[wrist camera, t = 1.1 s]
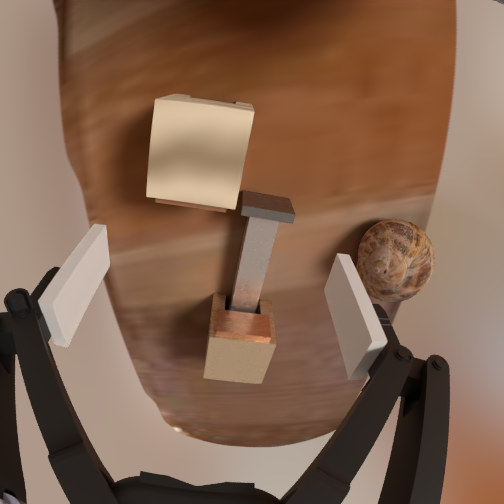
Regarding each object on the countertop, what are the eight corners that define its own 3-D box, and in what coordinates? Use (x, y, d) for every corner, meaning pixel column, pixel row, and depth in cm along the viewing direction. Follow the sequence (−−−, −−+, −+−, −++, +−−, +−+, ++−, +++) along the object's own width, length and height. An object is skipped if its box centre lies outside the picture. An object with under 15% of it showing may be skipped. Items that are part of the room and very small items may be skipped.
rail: (231, 188, 32) (228, 220, 26) (300, 200, 33) (314, 234, 27) (206, 340, 44) (203, 382, 37) (257, 346, 45) (259, 387, 38)
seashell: (324, 270, 37) (379, 283, 27) (355, 206, 38) (412, 202, 28) (377, 304, 40) (430, 322, 31) (403, 247, 41) (458, 253, 32)
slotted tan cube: (175, 93, 27) (155, 99, 20) (251, 104, 27) (254, 112, 21) (165, 175, 31) (145, 203, 25) (235, 185, 32) (234, 216, 25)
